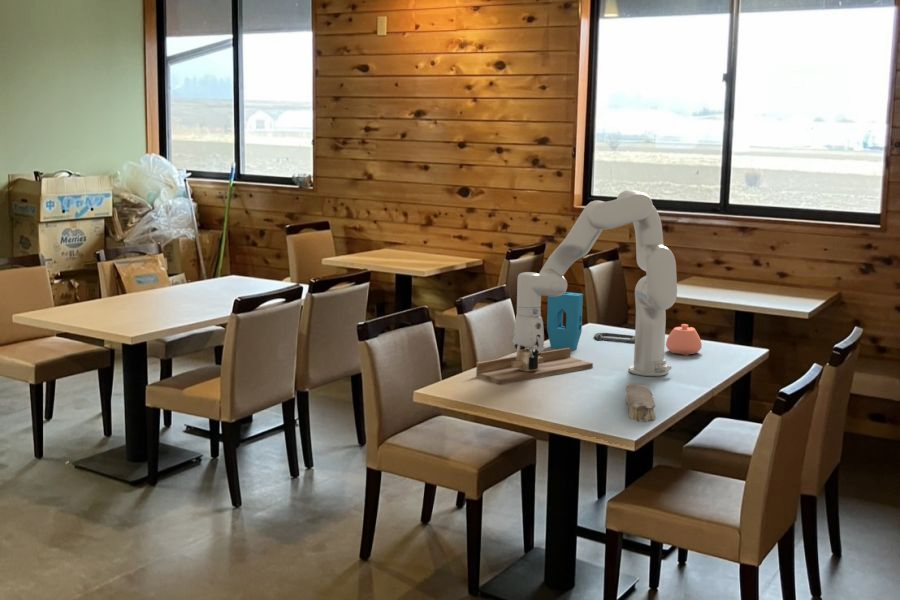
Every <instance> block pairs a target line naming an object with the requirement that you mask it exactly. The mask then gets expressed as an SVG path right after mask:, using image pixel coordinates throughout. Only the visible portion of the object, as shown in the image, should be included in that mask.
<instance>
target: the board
mask: <svg viewBox="0 0 900 600" xmlns="http://www.w3.org/2000/svg"><path fill="white" fill-rule="evenodd" d="M539 357H543V358H544V363H541V364H538V370H532V371H527V372H526V371H523V370H520V369H517V368H513V367H511V361H516V355H514V356H509V357H508V356H507V357H503V358H498V359H490V360H485V361H484V360H483V361H479V362H476V377H478V378H480V379H483V380H485V381H489V382H491V383H493V384H497V385H506V384H511V383H515V382H517V383H518V382H522V381H526V380H527V381H528V380H532V379H539V378H543V377H549V376H554V375H555V376H556V375H560V374H566V373H571V372H577V371H582V370H588V369H592V368H593V367H594V364H593V362H590V361H585V360H582V359H580V358H575V357H572V356H571V348H564V349H552V350H546V351H545V350H544V351H542V352H541V353H540V355H539Z"/></svg>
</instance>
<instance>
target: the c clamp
mask: <svg viewBox="0 0 900 600" xmlns="http://www.w3.org/2000/svg"><path fill="white" fill-rule="evenodd" d="M594 338H595V339H596V340H597V341H607V342H617V343H618V342H619V343H628V344H634V345H635V335H631V334H622V333H611V332H596V333H594Z"/></svg>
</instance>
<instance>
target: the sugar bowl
mask: <svg viewBox="0 0 900 600" xmlns="http://www.w3.org/2000/svg"><path fill="white" fill-rule="evenodd" d="M700 337H701V336H700V335H699V334H698V332H697V330H696V328H695V327H692V326H690V327H689V324H686V323H682V324H680V326H675V327H674V328H673V329H672V330H671V331H670V333H669V335H668V337H667V338H666V341H665V342H666V343H665V346H666V348H667V350H668V351H669V352H670V353H672V354H682V355H683V356H687V357H688V356H689V355H692V354H697V353H699V351H701V349H702V345H703V344H702V341H701V338H700Z"/></svg>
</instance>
